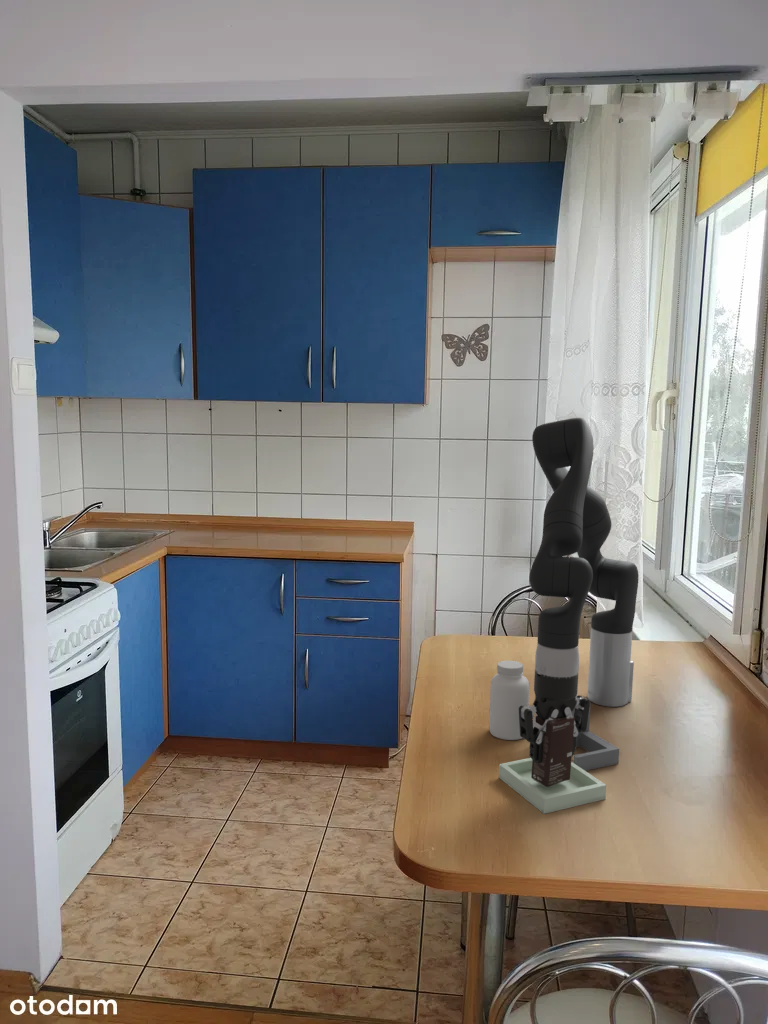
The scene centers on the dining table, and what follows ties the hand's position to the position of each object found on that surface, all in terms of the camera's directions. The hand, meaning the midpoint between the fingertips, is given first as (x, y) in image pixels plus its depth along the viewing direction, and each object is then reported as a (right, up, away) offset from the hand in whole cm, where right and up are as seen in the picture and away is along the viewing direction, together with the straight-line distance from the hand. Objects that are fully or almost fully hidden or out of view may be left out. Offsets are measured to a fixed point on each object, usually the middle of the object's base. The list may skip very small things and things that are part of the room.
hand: (552, 757), depth 141 cm
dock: (+8, -4, +15) cm, 17 cm away
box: (0, -4, +1) cm, 4 cm away
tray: (0, -6, +1) cm, 6 cm away
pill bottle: (-4, -3, +24) cm, 24 cm away
